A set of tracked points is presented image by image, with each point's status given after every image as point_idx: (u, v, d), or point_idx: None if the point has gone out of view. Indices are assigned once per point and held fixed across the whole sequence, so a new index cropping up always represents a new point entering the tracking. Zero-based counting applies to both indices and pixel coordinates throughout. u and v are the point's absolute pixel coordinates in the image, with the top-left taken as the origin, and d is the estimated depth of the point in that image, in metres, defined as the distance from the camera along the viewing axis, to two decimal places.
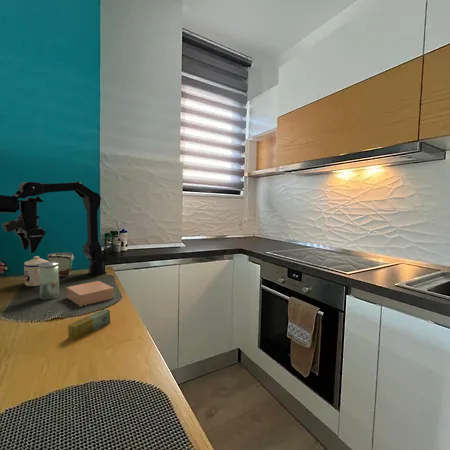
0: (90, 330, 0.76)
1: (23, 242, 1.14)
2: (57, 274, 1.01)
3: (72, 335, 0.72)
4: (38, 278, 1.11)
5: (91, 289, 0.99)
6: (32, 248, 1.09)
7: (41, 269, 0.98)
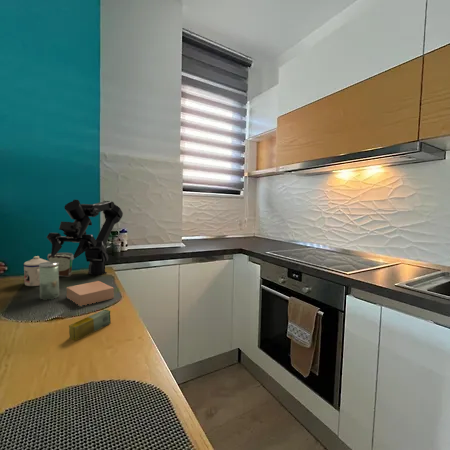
0: (91, 330, 0.76)
1: (54, 249, 1.10)
2: (57, 274, 1.01)
3: (73, 335, 0.72)
4: (38, 278, 1.11)
5: (91, 289, 0.99)
6: (77, 253, 1.09)
7: (41, 269, 0.98)
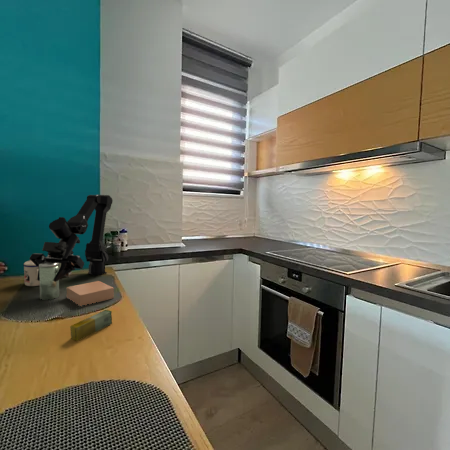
0: (92, 331, 0.76)
1: None
2: None
3: (75, 336, 0.72)
4: None
5: (91, 289, 0.99)
6: (58, 276, 1.01)
7: (41, 269, 0.98)
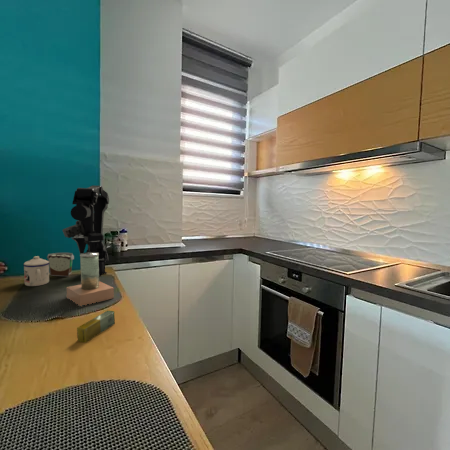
0: (98, 332, 0.76)
1: (79, 247, 1.17)
2: None
3: (82, 337, 0.71)
4: (38, 278, 1.11)
5: (91, 289, 0.99)
6: None
7: (86, 259, 0.98)
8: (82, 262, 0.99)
